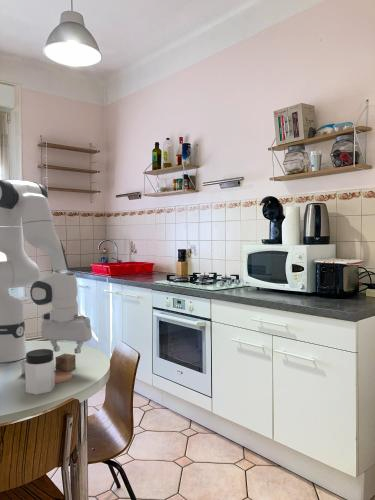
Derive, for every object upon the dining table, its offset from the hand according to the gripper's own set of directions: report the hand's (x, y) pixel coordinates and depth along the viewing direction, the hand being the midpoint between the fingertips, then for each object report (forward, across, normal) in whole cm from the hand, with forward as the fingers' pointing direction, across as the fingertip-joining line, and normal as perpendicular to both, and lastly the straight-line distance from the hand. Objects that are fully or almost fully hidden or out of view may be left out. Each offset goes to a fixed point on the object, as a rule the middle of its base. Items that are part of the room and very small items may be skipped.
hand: (67, 352), depth 150 cm
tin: (+6, +10, +9) cm, 15 cm away
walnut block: (+7, +1, 0) cm, 7 cm away
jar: (+7, -4, +19) cm, 21 cm away
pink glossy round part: (+7, -3, +9) cm, 11 cm away
